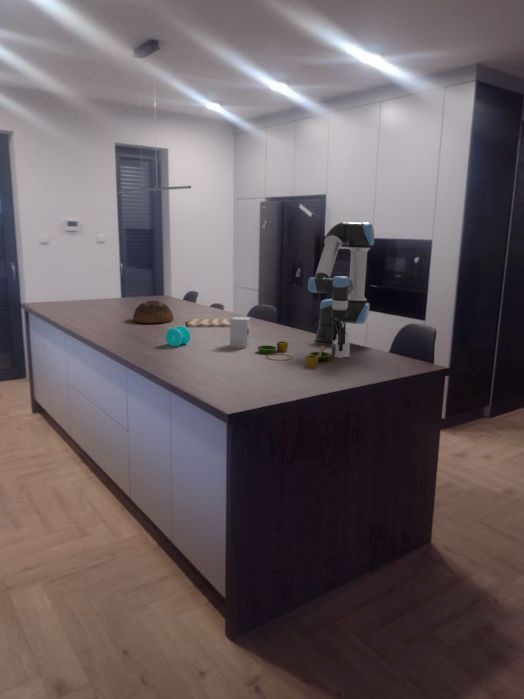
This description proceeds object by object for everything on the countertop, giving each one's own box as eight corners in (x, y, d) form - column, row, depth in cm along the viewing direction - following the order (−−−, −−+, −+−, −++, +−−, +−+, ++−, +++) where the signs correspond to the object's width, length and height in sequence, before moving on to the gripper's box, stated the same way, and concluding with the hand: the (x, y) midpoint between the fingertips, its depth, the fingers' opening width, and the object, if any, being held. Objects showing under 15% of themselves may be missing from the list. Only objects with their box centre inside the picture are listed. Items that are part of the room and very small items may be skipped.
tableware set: (344, 366, 245) (345, 353, 243) (292, 373, 232) (292, 358, 231) (298, 348, 281) (299, 336, 279) (251, 353, 268) (251, 340, 267)
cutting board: (232, 321, 356) (232, 318, 356) (236, 326, 337) (236, 324, 336) (186, 321, 351) (186, 319, 351) (187, 327, 332) (187, 324, 331)
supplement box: (246, 348, 275) (247, 319, 272) (229, 347, 277) (229, 318, 273) (250, 345, 284) (251, 317, 280) (234, 344, 285) (234, 316, 282)
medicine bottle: (331, 355, 265) (332, 331, 262) (345, 355, 266) (347, 331, 263) (334, 358, 258) (335, 334, 255) (349, 358, 259) (350, 334, 256)
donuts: (164, 346, 277) (164, 327, 274) (176, 342, 285) (175, 324, 283) (180, 348, 272) (180, 329, 270) (191, 345, 281) (191, 326, 279)
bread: (170, 317, 368) (170, 298, 366) (176, 323, 344) (176, 303, 341) (131, 318, 361) (131, 298, 358) (135, 325, 336) (134, 304, 333)
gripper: (325, 305, 266) (323, 350, 271) (338, 312, 246) (335, 360, 251) (340, 305, 267) (338, 350, 272) (354, 312, 247) (351, 360, 252)
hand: (337, 355), depth 262 cm, fingers open, 8 cm apart
